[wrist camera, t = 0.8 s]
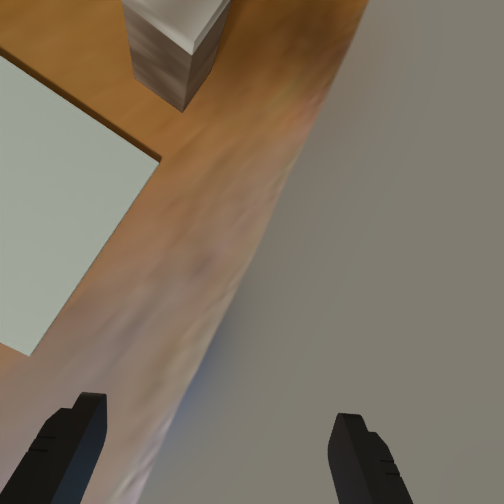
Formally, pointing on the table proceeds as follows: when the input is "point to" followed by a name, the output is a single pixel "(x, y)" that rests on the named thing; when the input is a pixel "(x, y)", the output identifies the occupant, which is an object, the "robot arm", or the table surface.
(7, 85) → the mat
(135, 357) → the table surface
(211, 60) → the walnut block
